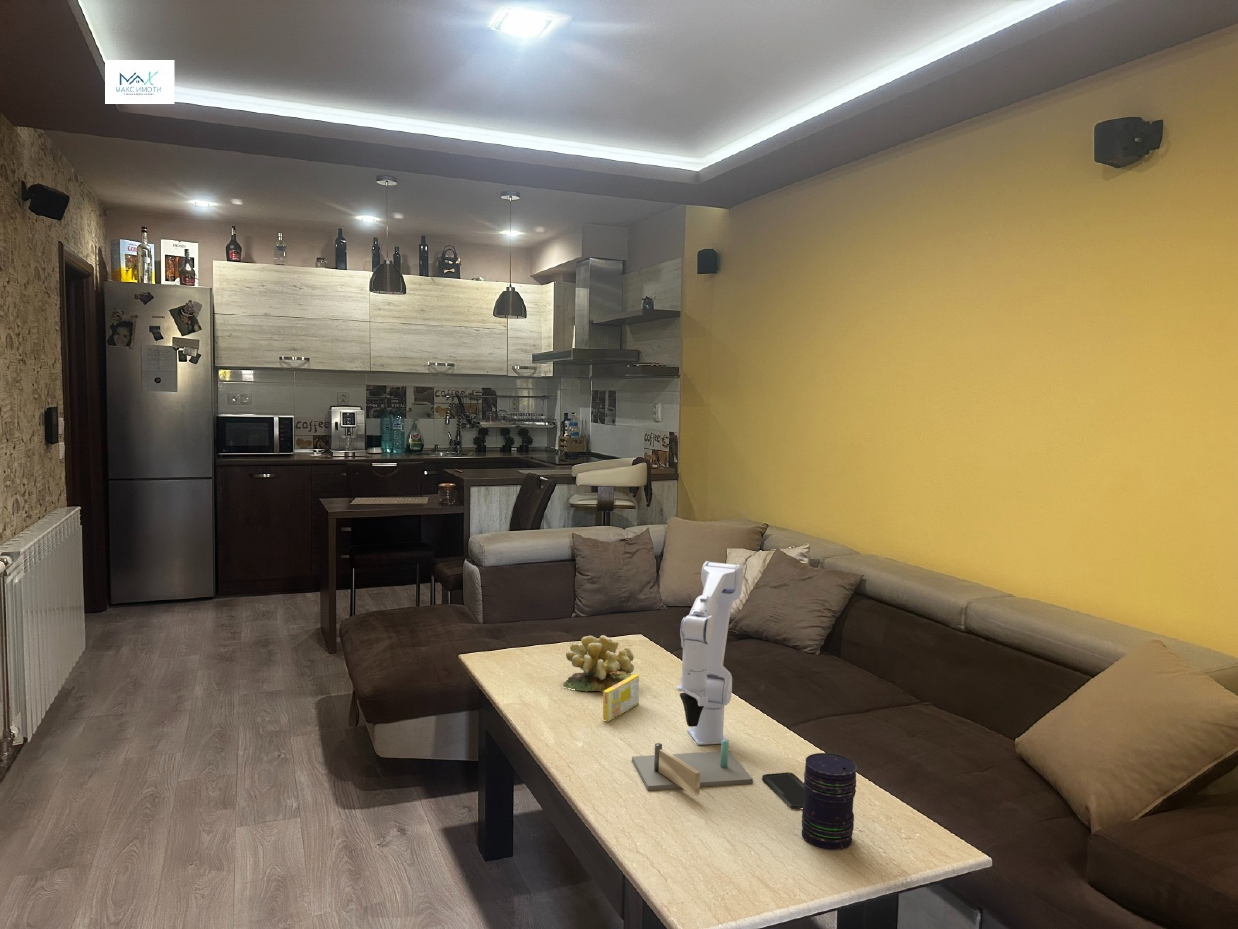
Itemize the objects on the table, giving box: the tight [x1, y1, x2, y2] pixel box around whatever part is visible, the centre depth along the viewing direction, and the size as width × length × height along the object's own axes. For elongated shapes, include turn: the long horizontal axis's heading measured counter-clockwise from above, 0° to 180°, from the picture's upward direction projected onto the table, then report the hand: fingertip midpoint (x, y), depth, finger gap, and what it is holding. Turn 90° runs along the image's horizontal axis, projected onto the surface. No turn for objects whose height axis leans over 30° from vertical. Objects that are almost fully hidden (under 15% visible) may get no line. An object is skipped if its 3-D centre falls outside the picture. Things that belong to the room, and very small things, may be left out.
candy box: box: [602, 674, 640, 722], centre depth 225 cm, size 16×2×8 cm, turn 149°
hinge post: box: [654, 742, 663, 772], centre depth 188 cm, size 2×2×7 cm
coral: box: [562, 635, 635, 692], centre depth 248 cm, size 19×23×15 cm
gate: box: [658, 748, 701, 797], centre depth 182 cm, size 1×13×5 cm, turn 32°
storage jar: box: [801, 752, 857, 852], centre depth 163 cm, size 10×10×15 cm
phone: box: [761, 772, 805, 811], centre depth 183 cm, size 8×1×15 cm
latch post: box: [720, 739, 729, 768], centre depth 192 cm, size 2×2×7 cm
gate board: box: [631, 750, 754, 791], centre depth 191 cm, size 15×24×1 cm, turn 102°
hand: (692, 725), depth 194 cm, fingers closed
